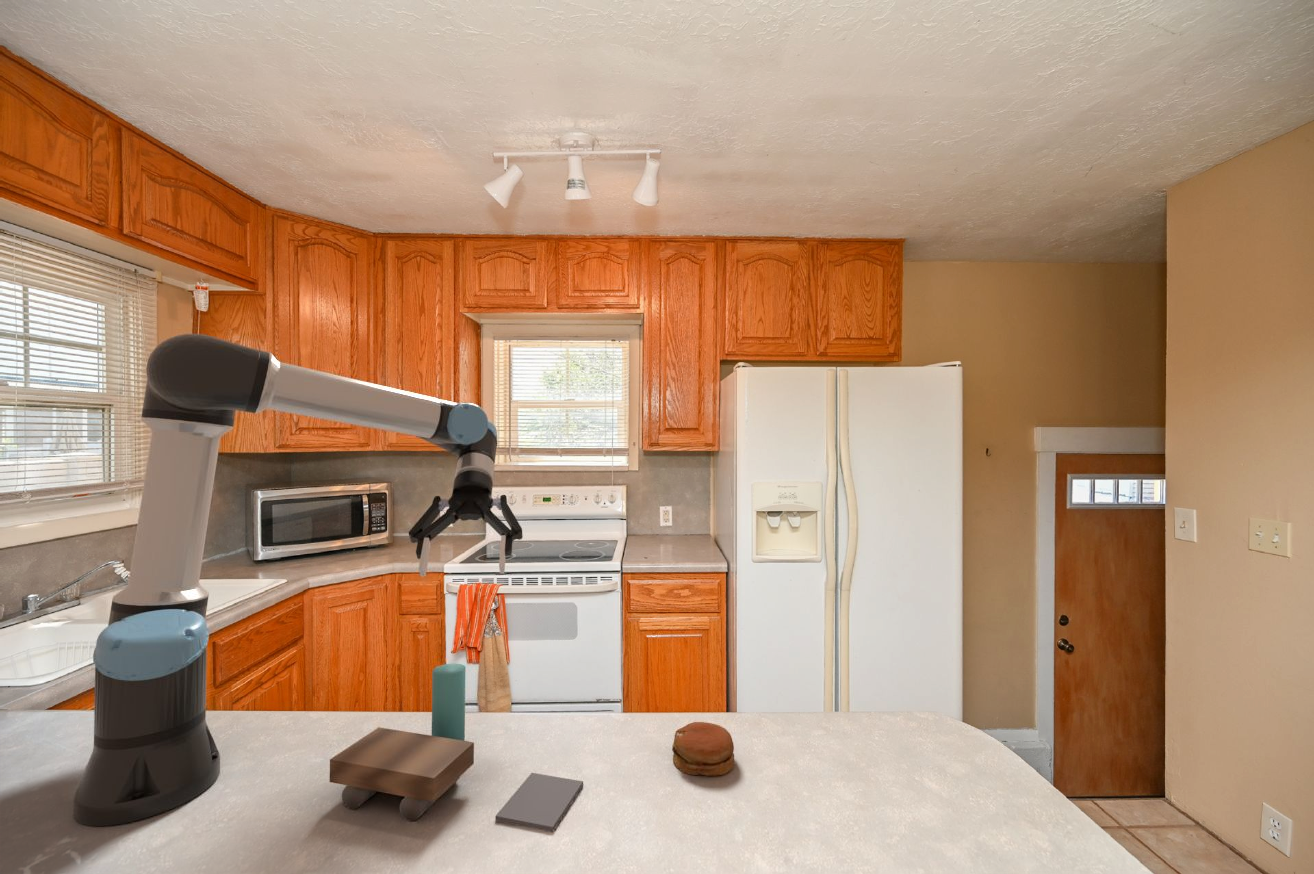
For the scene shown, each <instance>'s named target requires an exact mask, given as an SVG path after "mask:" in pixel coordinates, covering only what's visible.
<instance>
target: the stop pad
mask: <svg viewBox="0 0 1314 874" xmlns="http://www.w3.org/2000/svg"><path fill="white" fill-rule="evenodd" d="M583 787H584V781H583V780H577V779H572V778H565V777H559V776H555V775H554V776H553V775H547V774H542V773H536V772H531V773H530V774H529V775H528V776H527V778H526V779H525V780H524V781H523V783H522V784H521V785H520V786H519V787H518V788H517V790H516V791H515V792H514V793H513V794H512V795H511V797H510V798H508V800H507V801H506V803H505V804H504V805H503V806H502V808H501V809H500V810H499V811H498V812H497V813H496V814H495V819H494V820H495V821H496V822H501V823H506V824H510V825H515V826H516V825H517V826H522V827H527V828H533V829H537V830H542V831H547V832H551V833H552V832H554V831H555V829H556V828H557V827H558V824H559V823H560V822H561V820H562V819H563V817H564V815H565V814H566V812H567V811H568V809H569V807H570V806H571V805H572V803H573V802H574V801H575V799H576V797H578V796H577V795H579V793H580V792H581V790H582V788H583Z"/></svg>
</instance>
